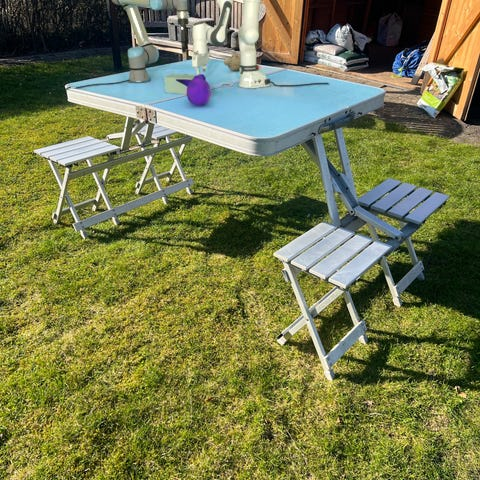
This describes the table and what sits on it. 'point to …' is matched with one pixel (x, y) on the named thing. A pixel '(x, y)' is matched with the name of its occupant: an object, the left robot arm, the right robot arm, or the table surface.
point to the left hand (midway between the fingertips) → (185, 50)
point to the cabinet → (176, 83)
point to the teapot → (233, 62)
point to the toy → (197, 90)
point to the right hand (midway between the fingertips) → (201, 72)
